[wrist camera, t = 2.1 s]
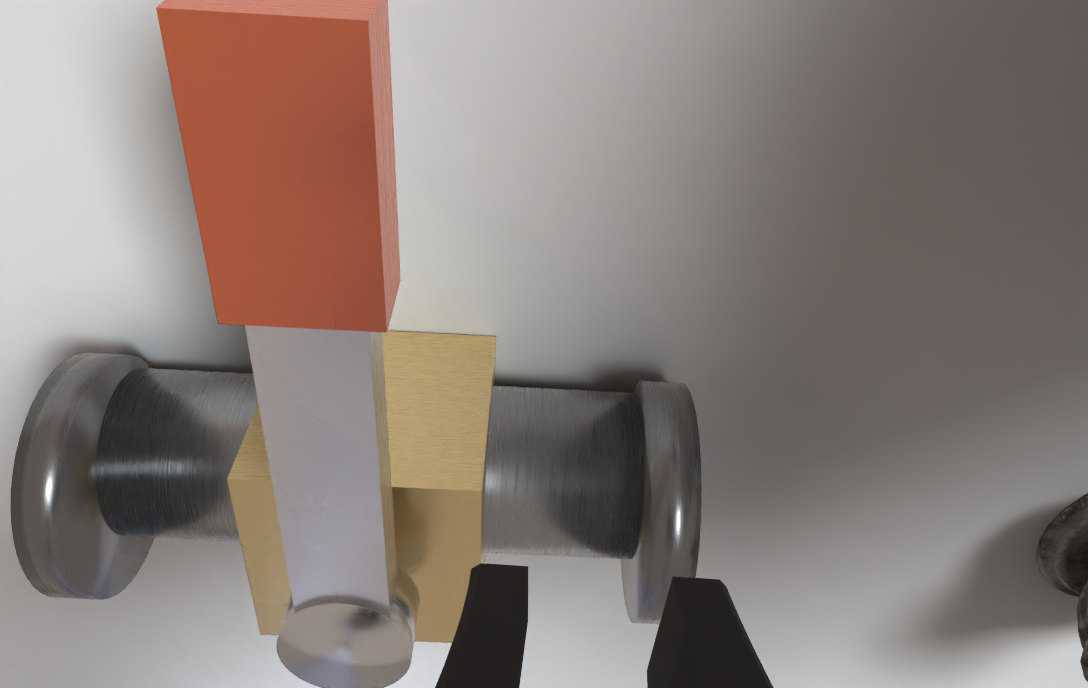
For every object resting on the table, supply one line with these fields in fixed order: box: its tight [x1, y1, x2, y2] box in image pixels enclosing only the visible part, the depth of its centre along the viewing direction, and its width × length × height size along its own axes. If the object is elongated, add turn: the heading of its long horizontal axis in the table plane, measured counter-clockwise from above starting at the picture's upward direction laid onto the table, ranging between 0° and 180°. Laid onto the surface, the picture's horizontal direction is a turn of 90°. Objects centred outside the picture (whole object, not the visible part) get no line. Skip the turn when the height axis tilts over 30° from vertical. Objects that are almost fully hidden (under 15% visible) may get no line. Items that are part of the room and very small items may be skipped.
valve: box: [11, 331, 701, 643], centre depth 21 cm, size 14×6×6 cm, turn 87°
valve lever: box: [156, 0, 420, 688], centre depth 15 cm, size 14×3×1 cm, turn 177°
